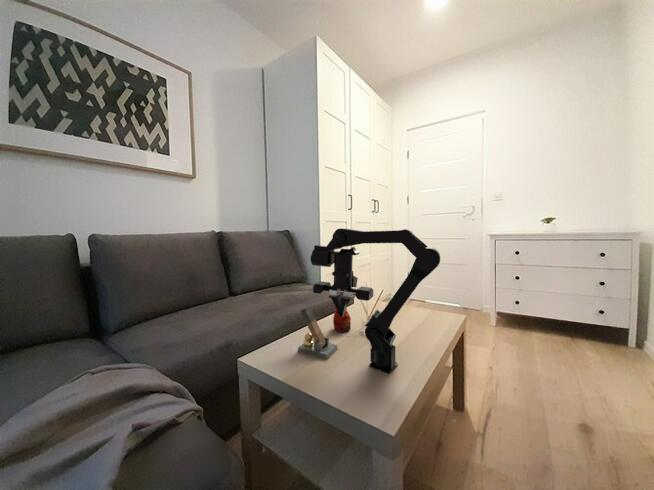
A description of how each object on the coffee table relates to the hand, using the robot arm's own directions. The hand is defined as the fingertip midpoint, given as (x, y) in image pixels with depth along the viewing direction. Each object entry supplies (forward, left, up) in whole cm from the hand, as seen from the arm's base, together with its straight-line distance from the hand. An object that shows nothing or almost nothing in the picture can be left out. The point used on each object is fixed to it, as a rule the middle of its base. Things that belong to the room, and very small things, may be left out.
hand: (341, 316), depth 80 cm
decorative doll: (+13, -19, -13) cm, 27 cm away
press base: (+9, +1, -13) cm, 16 cm away
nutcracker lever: (+7, +1, -11) cm, 13 cm away
